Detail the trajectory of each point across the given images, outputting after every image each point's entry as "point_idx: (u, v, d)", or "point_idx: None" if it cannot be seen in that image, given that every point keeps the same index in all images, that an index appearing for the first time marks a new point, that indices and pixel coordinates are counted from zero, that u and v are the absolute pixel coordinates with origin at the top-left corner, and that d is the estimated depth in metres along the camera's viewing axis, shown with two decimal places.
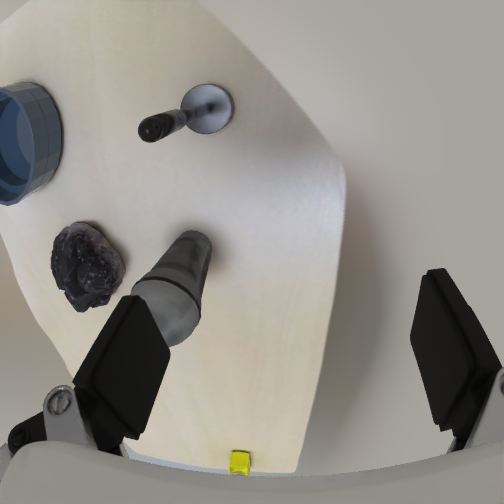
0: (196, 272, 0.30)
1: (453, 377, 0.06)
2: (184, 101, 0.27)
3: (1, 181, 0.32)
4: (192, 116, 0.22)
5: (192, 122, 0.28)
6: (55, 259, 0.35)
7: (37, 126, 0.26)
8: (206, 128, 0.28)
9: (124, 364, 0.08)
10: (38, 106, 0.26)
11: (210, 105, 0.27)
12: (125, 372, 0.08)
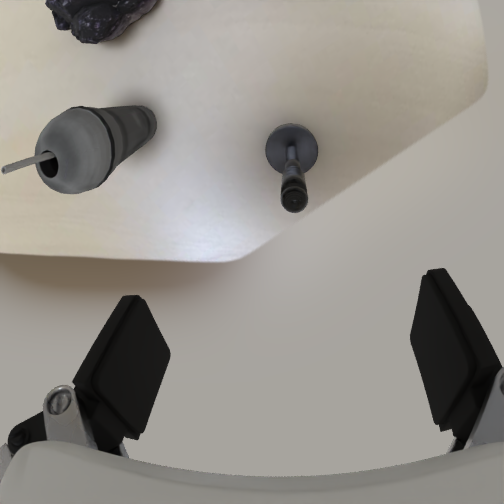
0: None
1: (453, 377, 0.06)
2: (302, 131, 0.27)
3: None
4: None
5: (278, 137, 0.28)
6: None
7: None
8: (271, 150, 0.29)
9: (124, 364, 0.08)
10: None
11: None
12: (125, 372, 0.08)
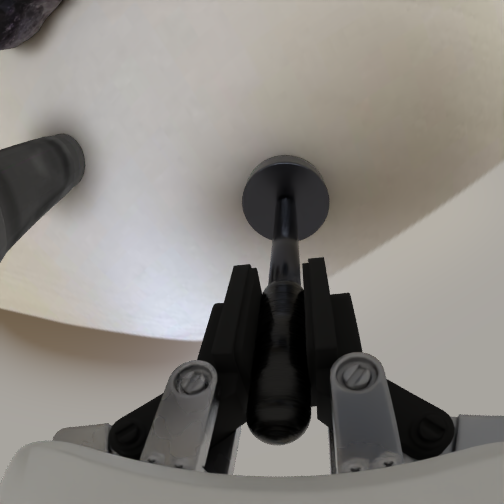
0: (20, 236, 0.14)
1: None
2: (303, 171, 0.17)
3: None
4: None
5: (263, 181, 0.17)
6: None
7: None
8: (251, 204, 0.18)
9: (252, 332, 0.08)
10: None
11: None
12: (253, 341, 0.08)
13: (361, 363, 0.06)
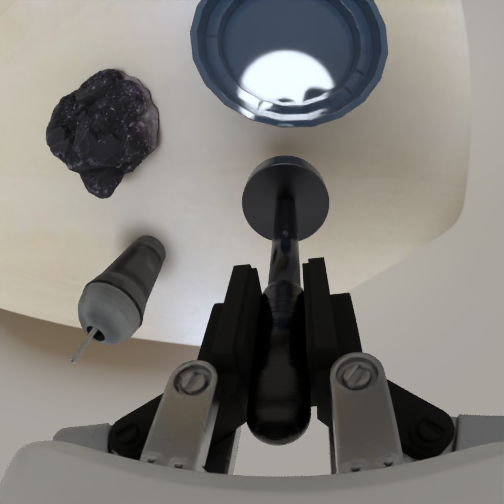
0: None
1: None
2: (303, 171, 0.17)
3: None
4: None
5: (263, 182, 0.17)
6: (108, 106, 0.24)
7: None
8: (251, 204, 0.18)
9: (252, 332, 0.08)
10: None
11: None
12: (253, 341, 0.08)
13: (361, 363, 0.06)
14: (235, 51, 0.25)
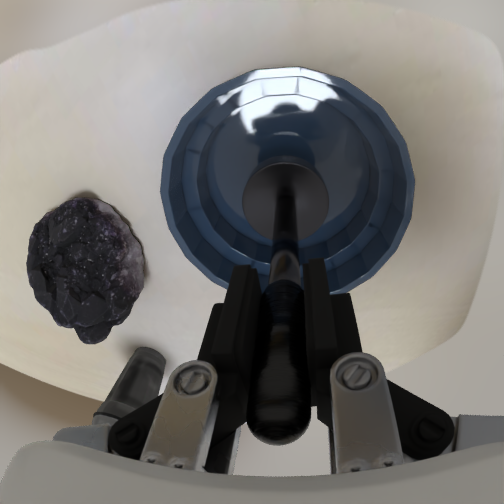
0: None
1: None
2: (303, 171, 0.17)
3: (208, 126, 0.19)
4: None
5: (263, 181, 0.17)
6: (85, 256, 0.24)
7: None
8: (251, 204, 0.18)
9: (252, 332, 0.08)
10: None
11: None
12: (253, 341, 0.08)
13: (361, 363, 0.06)
14: (222, 186, 0.24)
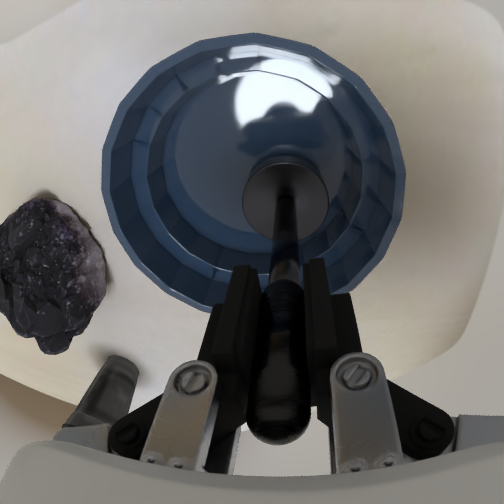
0: None
1: None
2: (303, 171, 0.17)
3: (157, 113, 0.15)
4: None
5: (263, 181, 0.17)
6: (40, 262, 0.20)
7: None
8: (251, 204, 0.18)
9: (252, 332, 0.08)
10: None
11: None
12: (253, 341, 0.08)
13: (361, 363, 0.06)
14: (180, 183, 0.20)
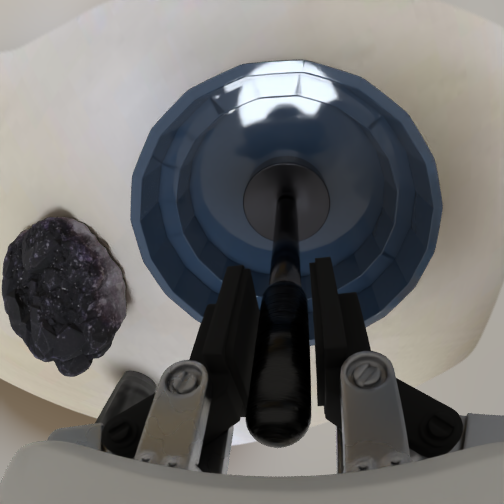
0: None
1: None
2: (304, 171, 0.17)
3: (188, 137, 0.15)
4: None
5: (264, 182, 0.17)
6: (58, 284, 0.20)
7: None
8: (252, 204, 0.18)
9: (244, 333, 0.08)
10: None
11: None
12: (245, 341, 0.08)
13: (371, 362, 0.06)
14: (208, 206, 0.20)
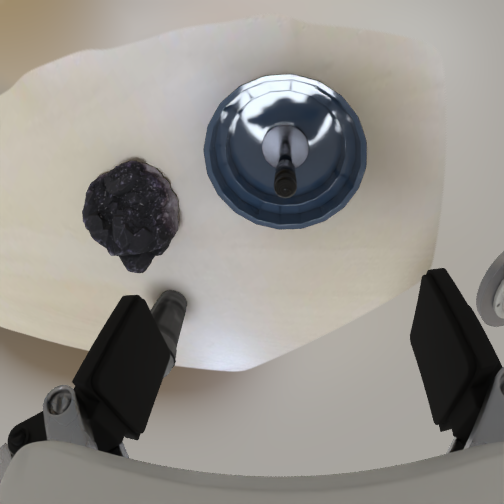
0: None
1: (453, 377, 0.06)
2: (294, 129, 0.30)
3: (234, 110, 0.29)
4: None
5: (273, 135, 0.31)
6: (137, 201, 0.34)
7: None
8: (266, 147, 0.32)
9: (124, 364, 0.08)
10: None
11: None
12: (125, 372, 0.08)
13: None
14: (240, 152, 0.34)
